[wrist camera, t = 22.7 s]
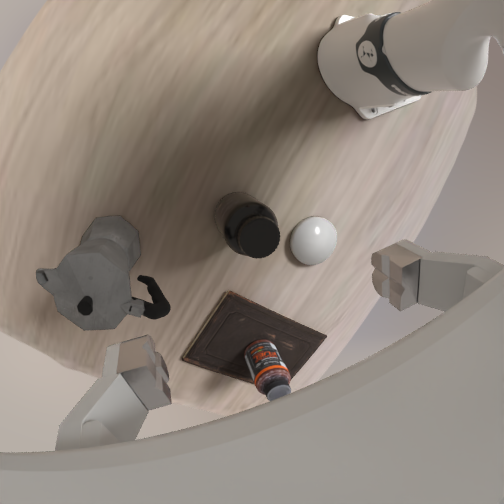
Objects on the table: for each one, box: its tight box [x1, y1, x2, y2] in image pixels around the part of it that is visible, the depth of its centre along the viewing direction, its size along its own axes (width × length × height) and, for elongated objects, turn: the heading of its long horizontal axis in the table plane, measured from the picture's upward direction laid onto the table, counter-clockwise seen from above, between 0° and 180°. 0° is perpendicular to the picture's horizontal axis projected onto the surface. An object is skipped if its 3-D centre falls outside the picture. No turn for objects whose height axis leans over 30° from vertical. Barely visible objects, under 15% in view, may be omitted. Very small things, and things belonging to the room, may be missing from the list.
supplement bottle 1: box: [214, 192, 280, 258], centre depth 39 cm, size 7×7×12 cm
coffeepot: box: [36, 216, 170, 330], centre depth 33 cm, size 15×9×18 cm, turn 66°
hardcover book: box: [182, 290, 327, 384], centre depth 54 cm, size 16×23×2 cm
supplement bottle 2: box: [244, 340, 291, 401], centre depth 48 cm, size 6×6×11 cm
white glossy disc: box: [290, 216, 337, 265], centre depth 49 cm, size 8×8×1 cm
